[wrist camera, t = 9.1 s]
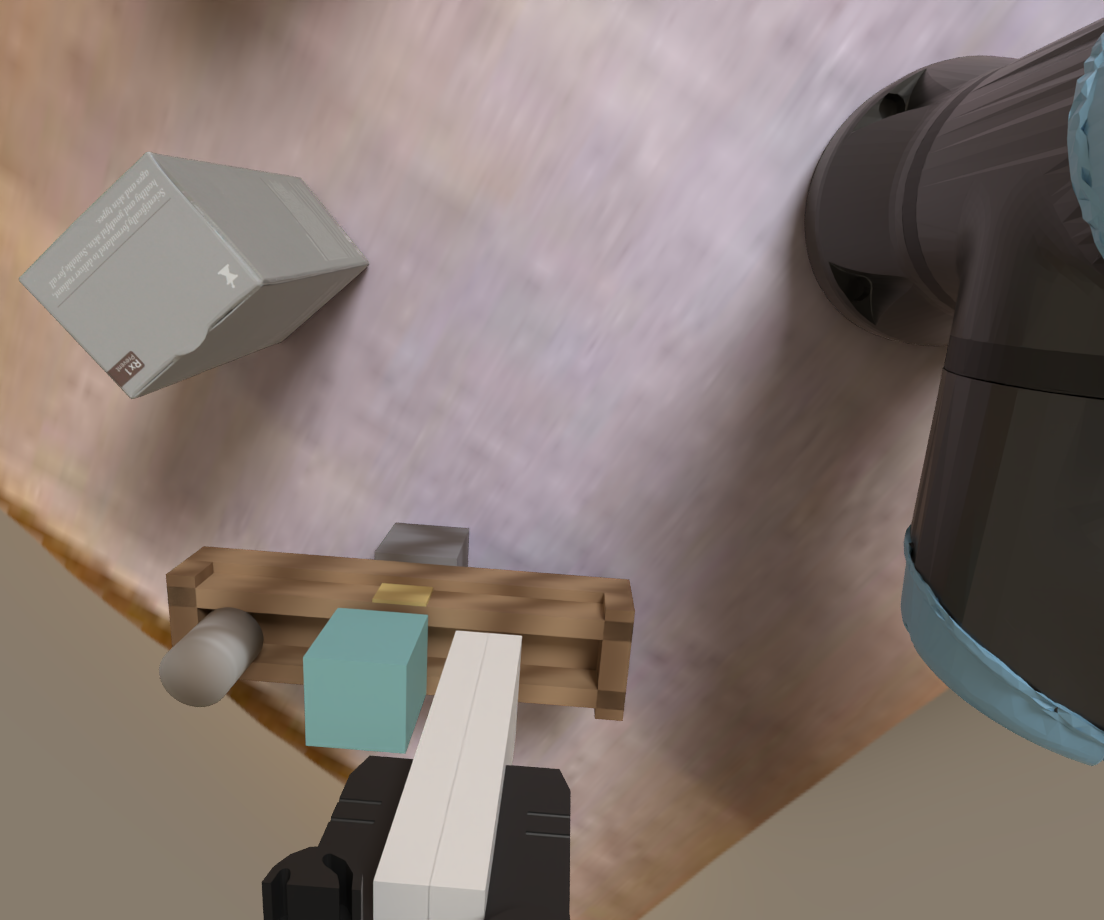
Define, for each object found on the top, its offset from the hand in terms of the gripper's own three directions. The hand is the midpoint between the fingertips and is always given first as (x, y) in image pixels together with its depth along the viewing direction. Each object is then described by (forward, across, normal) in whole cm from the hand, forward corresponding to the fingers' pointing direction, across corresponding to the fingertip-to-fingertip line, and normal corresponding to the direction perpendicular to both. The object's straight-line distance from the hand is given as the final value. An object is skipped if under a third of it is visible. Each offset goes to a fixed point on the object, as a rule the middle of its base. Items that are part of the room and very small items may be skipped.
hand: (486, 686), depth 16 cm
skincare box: (+30, -16, +8) cm, 35 cm away
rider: (+22, -8, -12) cm, 26 cm away
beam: (+29, -7, -12) cm, 33 cm away
